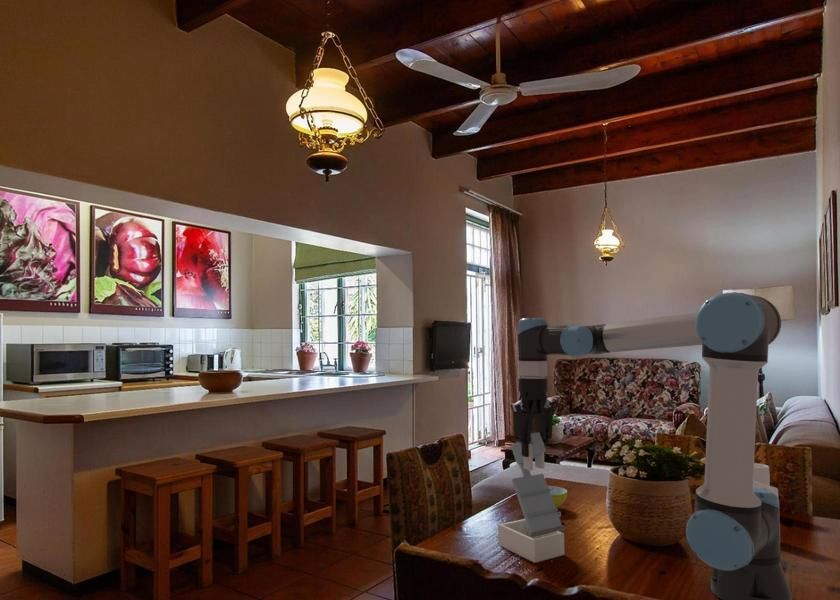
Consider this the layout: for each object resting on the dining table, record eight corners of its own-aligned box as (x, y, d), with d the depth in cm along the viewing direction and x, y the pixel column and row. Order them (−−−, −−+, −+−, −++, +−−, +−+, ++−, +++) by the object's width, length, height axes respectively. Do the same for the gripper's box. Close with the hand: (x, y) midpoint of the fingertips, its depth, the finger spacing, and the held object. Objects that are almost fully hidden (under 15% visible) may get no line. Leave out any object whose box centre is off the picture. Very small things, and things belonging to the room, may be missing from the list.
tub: (564, 557, 144) (564, 533, 145) (534, 565, 139) (534, 540, 140) (527, 540, 156) (527, 518, 157) (498, 547, 151) (498, 524, 152)
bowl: (525, 506, 188) (524, 486, 189) (555, 502, 192) (555, 484, 192) (542, 516, 177) (542, 496, 178) (574, 513, 181) (574, 493, 181)
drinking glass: (741, 511, 182) (739, 464, 183) (755, 509, 185) (753, 462, 186) (761, 518, 176) (760, 468, 177) (776, 515, 178) (774, 466, 179)
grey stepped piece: (562, 530, 146) (585, 521, 139) (530, 538, 140) (552, 528, 134) (530, 443, 157) (550, 431, 151) (499, 447, 152) (518, 434, 145)
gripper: (546, 375, 157) (547, 462, 155) (499, 377, 148) (499, 469, 147) (566, 376, 150) (567, 467, 149) (518, 379, 142) (519, 475, 140)
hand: (533, 468), depth 148 cm, fingers closed on grey stepped piece, 3 cm apart
